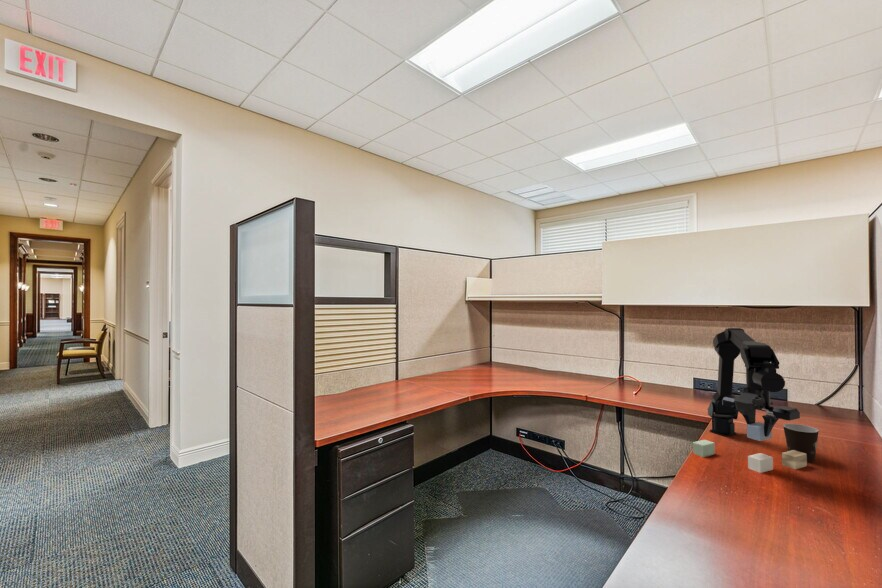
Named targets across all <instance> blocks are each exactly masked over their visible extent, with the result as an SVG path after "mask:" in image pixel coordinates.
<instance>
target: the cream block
mask: <svg viewBox="0 0 882 588" xmlns="http://www.w3.org/2000/svg"><path fill="white" fill-rule="evenodd" d="M747 468H748V469H749V470H750V471H751V470H752V471H755V472H758V473H759V474H762V473H765V472H768V471H769V472H770V471H773V470H774V457H773V456H770V455H767V454H764V453H761V452H759V453H755V454H751V455H748V456H747Z"/></svg>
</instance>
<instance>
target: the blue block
mask: <svg viewBox="0 0 882 588" xmlns="http://www.w3.org/2000/svg"><path fill="white" fill-rule="evenodd" d="M746 438H749V439H751V440H755V441H758V442H762V441H765V440H766V441H767V440H769V439H772V431H771V432H770V434H769V436H767V437H765V434H764V422H762V421H761V422H760V421H757V422H756V421H755V423H752V424H747V423H746Z"/></svg>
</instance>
